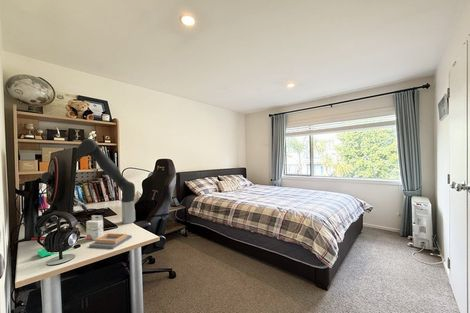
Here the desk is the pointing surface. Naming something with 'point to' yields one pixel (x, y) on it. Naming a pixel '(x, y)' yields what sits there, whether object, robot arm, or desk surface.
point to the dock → (110, 240)
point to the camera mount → (44, 253)
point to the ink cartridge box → (94, 227)
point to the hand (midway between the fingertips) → (80, 211)
